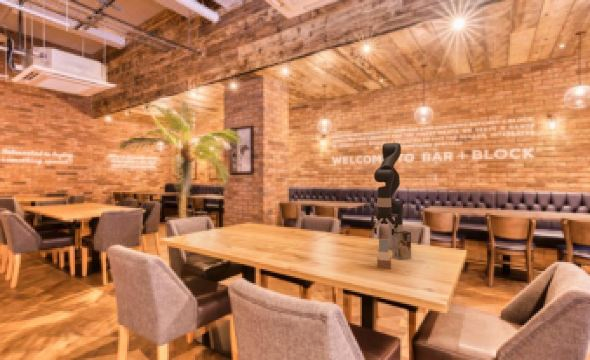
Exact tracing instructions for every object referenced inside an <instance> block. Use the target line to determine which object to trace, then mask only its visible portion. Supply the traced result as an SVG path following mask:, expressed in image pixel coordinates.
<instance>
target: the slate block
mask: <svg viewBox="0 0 590 360" xmlns="http://www.w3.org/2000/svg"><path fill="white" fill-rule="evenodd" d="M378 249H379V252H389V251H390V249H389V238H379V239H378Z"/></svg>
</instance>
